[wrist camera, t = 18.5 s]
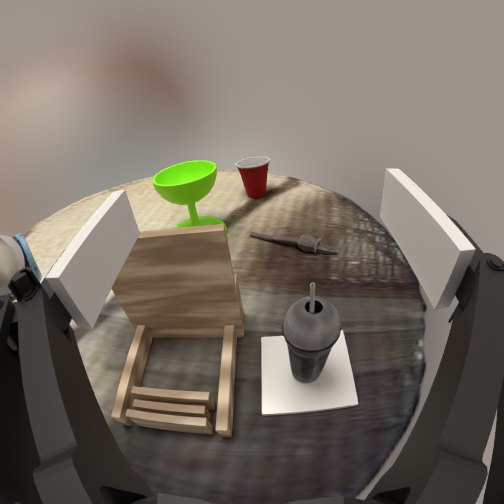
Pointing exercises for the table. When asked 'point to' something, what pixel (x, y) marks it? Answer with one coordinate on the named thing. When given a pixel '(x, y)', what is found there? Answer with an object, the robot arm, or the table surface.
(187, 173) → the wineglass
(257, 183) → the plastic cup
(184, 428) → the plywood offcuts
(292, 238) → the natural artifact
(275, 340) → the white tile
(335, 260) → the table surface
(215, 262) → the pine rack
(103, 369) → the table surface
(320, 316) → the beverage cup
